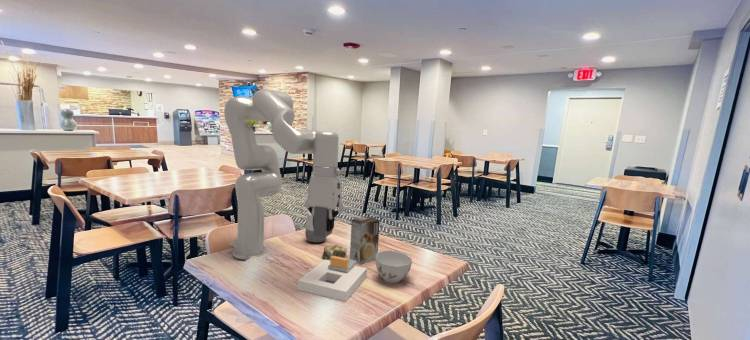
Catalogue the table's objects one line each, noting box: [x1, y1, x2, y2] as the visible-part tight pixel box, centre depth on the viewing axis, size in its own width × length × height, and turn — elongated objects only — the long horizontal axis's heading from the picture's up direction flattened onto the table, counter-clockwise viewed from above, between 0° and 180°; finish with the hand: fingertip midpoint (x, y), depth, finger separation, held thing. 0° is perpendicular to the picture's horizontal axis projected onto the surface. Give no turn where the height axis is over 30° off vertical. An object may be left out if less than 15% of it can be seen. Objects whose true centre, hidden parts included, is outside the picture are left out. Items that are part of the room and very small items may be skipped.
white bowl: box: [374, 250, 413, 284], centre depth 112 cm, size 15×12×8 cm
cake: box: [321, 244, 349, 260], centre depth 127 cm, size 10×10×5 cm
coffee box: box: [349, 216, 381, 266], centre depth 125 cm, size 9×6×16 cm
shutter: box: [328, 256, 357, 272], centre depth 112 cm, size 7×8×4 cm
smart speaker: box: [304, 209, 327, 244], centre depth 143 cm, size 10×9×14 cm
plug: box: [313, 207, 333, 238], centre depth 103 cm, size 4×5×11 cm
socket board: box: [297, 259, 368, 302], centre depth 106 cm, size 16×18×3 cm
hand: (323, 228), depth 103 cm, fingers closed on plug, 4 cm apart
